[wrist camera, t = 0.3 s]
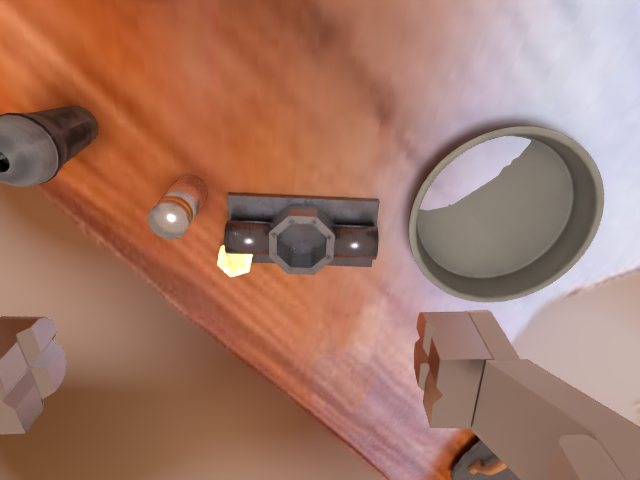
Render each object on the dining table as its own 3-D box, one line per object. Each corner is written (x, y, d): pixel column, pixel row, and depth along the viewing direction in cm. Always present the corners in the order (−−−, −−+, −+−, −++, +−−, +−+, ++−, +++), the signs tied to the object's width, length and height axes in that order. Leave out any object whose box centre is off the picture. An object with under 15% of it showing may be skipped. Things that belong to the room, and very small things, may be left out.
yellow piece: (214, 247, 60) (211, 249, 58) (249, 236, 60) (247, 238, 58) (225, 277, 61) (222, 280, 59) (259, 266, 61) (257, 268, 59)
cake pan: (623, 151, 56) (646, 161, 52) (527, 302, 66) (541, 320, 62) (448, 93, 52) (459, 99, 48) (377, 262, 63) (381, 278, 59)
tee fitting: (228, 192, 58) (220, 208, 53) (378, 199, 58) (383, 215, 53) (231, 258, 62) (224, 277, 57) (370, 263, 63) (375, 283, 58)
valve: (172, 174, 56) (145, 203, 48) (206, 175, 57) (185, 204, 48) (175, 205, 58) (150, 238, 49) (208, 206, 59) (189, 240, 50)
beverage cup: (109, 159, 55) (11, 225, 38) (50, 147, 55) (-78, 208, 37) (109, 101, 52) (2, 144, 34) (46, 88, 51) (-96, 124, 34)
